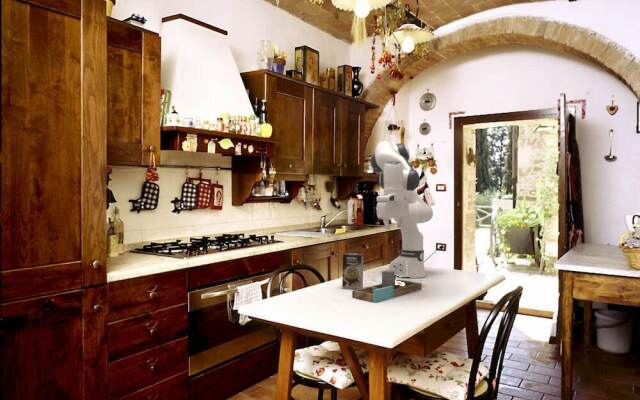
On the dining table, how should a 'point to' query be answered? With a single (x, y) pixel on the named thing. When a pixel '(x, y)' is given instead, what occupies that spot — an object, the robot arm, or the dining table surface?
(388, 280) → the tall grey block
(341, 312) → the dining table surface
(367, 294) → the rack
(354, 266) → the coffee box
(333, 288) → the dining table surface
